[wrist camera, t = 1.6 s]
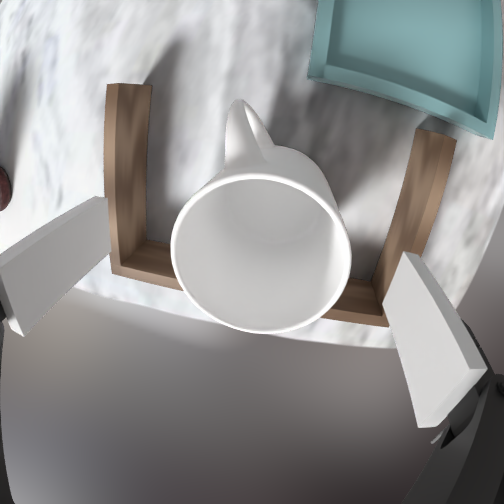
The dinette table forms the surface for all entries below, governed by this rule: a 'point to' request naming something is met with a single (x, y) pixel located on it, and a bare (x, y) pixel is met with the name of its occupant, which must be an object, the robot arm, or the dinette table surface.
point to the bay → (159, 254)
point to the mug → (261, 236)
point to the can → (4, 189)
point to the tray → (415, 55)
